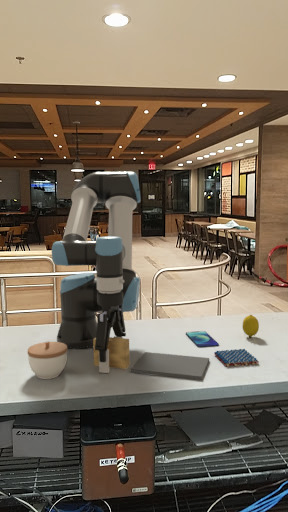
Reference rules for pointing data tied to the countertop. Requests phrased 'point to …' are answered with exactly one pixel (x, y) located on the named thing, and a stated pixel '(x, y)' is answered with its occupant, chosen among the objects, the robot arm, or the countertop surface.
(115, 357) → the block
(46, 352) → the lidded jar
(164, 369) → the mat
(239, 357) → the woven mat
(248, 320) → the lemon
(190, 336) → the smartphone
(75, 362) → the countertop surface
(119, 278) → the robot arm
